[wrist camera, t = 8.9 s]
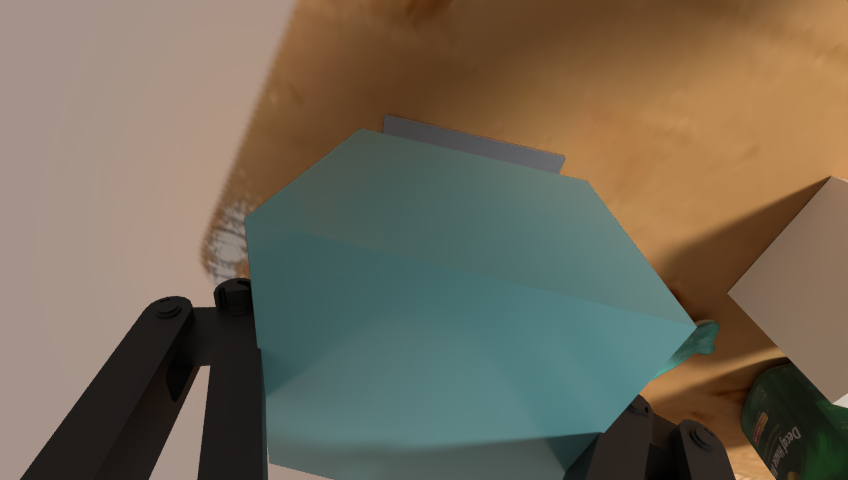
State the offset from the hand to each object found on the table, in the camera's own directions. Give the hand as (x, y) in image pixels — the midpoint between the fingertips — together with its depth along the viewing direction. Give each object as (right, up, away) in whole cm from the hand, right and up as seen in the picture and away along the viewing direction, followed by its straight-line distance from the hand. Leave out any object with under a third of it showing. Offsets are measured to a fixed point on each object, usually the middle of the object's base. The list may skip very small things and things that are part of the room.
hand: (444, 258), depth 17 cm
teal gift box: (0, 0, 0) cm, 0 cm away
